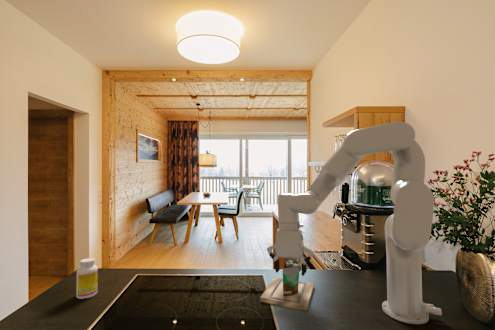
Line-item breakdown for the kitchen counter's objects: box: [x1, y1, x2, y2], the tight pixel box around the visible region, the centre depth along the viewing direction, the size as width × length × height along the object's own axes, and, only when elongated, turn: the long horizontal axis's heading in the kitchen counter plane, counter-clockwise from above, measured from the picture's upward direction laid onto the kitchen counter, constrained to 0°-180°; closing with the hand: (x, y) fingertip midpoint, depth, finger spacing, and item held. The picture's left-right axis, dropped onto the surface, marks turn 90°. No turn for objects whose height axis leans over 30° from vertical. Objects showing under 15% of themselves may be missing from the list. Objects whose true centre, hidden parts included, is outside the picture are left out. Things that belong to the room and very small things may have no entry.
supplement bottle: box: [75, 257, 99, 300], centre depth 93 cm, size 7×7×13 cm
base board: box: [259, 277, 315, 311], centre depth 93 cm, size 16×18×2 cm
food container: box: [282, 258, 302, 296], centre depth 92 cm, size 12×6×10 cm, turn 166°
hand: (290, 272), depth 93 cm, fingers open, 9 cm apart
